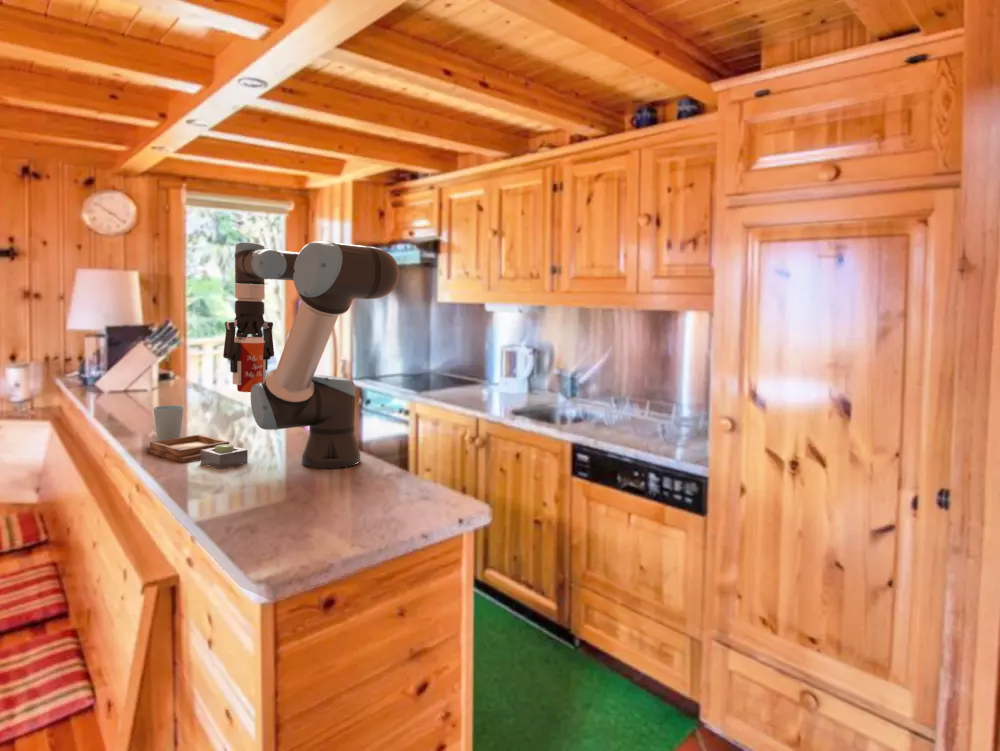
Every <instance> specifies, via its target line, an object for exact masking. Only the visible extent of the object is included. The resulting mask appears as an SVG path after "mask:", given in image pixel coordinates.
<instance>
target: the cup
mask: <svg viewBox="0 0 1000 751" xmlns="http://www.w3.org/2000/svg"><path fill="white" fill-rule="evenodd" d="M184 408H185V407H184V406H182V405H159V406H155V407H153V408H152V409H153V410H152V411H153V416H154V424H155V432H156V436H157V441H161V440H167V439H173V438H179V437H181V434H182V433H181V432H182V426H183V425H182V424H183V416H184V415H183V414H184Z"/></svg>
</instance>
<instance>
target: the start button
mask: <svg viewBox="0 0 1000 751" xmlns="http://www.w3.org/2000/svg"><path fill="white" fill-rule="evenodd" d="M230 451H234V445H233V444H230V443H229V444H223V445H217V446H215V452H219V453H225V452H230Z"/></svg>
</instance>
